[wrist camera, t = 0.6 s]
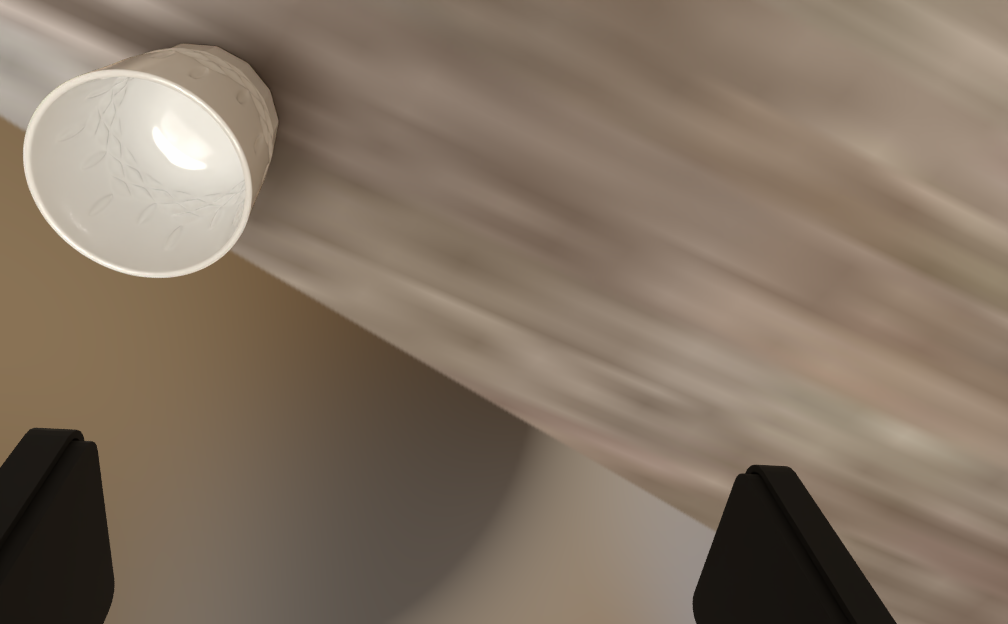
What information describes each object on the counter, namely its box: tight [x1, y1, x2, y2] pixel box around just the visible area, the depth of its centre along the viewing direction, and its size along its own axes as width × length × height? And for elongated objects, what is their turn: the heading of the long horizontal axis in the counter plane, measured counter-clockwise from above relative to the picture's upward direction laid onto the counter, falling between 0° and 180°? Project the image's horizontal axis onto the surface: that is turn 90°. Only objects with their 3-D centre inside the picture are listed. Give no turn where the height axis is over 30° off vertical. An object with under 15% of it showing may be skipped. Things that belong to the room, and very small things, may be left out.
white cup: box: [23, 44, 279, 278], centre depth 32 cm, size 8×8×10 cm
